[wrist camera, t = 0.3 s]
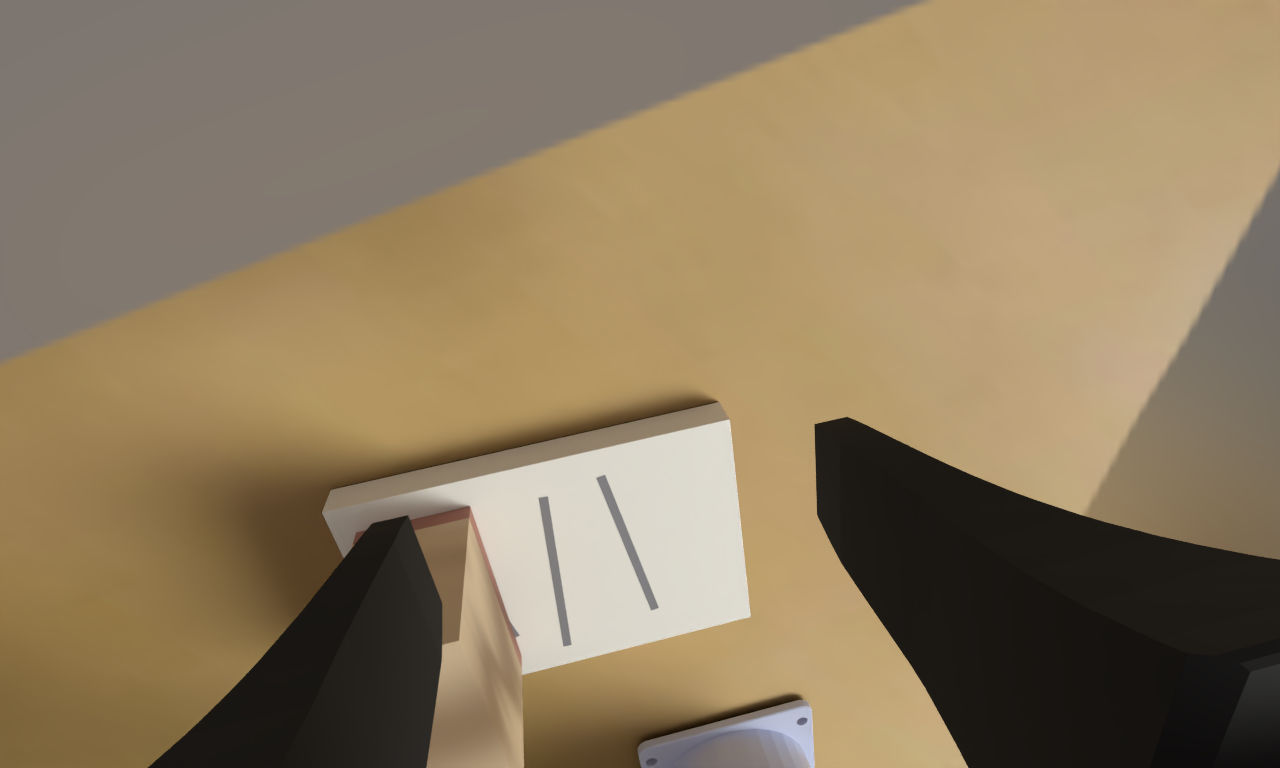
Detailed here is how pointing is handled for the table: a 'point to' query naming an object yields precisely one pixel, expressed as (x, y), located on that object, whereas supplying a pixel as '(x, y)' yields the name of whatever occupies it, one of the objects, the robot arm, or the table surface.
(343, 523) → the board
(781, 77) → the table surface
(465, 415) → the table surface
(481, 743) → the block
